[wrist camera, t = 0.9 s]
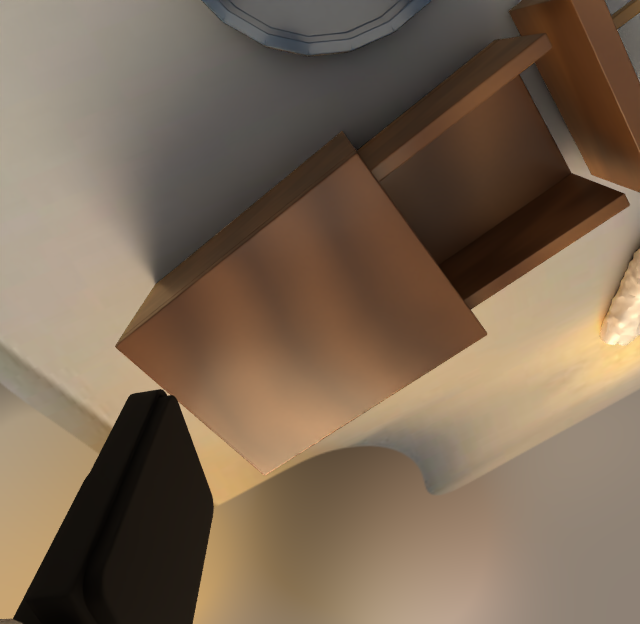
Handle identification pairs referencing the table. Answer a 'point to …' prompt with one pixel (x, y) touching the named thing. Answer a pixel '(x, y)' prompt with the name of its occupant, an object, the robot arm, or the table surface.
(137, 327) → the cabinet
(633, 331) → the sitting furry creature
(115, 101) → the table surface
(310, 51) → the plate
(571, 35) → the drawer
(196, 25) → the table surface
